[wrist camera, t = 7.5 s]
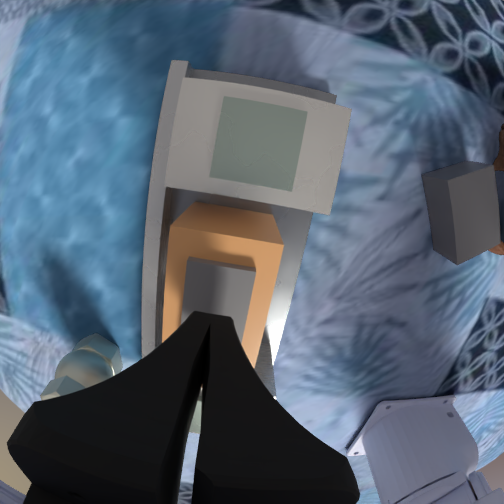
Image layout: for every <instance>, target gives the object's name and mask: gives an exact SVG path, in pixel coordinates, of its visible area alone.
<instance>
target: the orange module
mask: <svg viewBox="0 0 504 504" xmlns="http://www.w3.org/2000/svg"><path fill="white" fill-rule="evenodd" d="M283 248H284V243H283V241H282V238H281V235H280V233H279V230H278V227H277V224H276V222H275V219H274V216H273V215H271V214H265V213H260V212H254V211H249V210H243V209H237V208H231V207H225V206H219V205H213V204H207V203H201V202H194V203H192V204H191V205H190V206H189V207H188V208H187V209H186V210H185V211H184V212H183V213H182V214H181V215H180V216H179V217H178V218H177V219H176V220H175V221H174V222H173V223H172V224H171V225H170V232H169V242H168V253H167V264H166V277H165V291H164V308H163V330H162V343H163V342H164V341H165V340H166V339H167V338H168V337H169V336H170V335H171V334H172V333H173V332H174V331H176V330H177V329H178V327H179V326H180V325H181V324H182V323H183V322H184V321H185V320H186V319H187V318H188V316H189V315H190V314H191V313H192V312H193V311H200V312H205V313H211V314H217V315H223V316H230V317H231V318H232V319H233V321H234V325H235V329H236V332H237V335H238V337H239V340H240V342H241V345H242V347H243V349H244V351H245V353H246V355H247V357H248V359H249V361H250V363H251V365H252V366H253V368H255V364H256V360H257V356H258V352H259V348H260V344H261V340H262V336H263V332H264V328H265V324H266V320H267V316H268V312H269V308H270V304H271V299H272V295H273V291H274V287H275V282H276V278H277V274H278V270H279V265H280V261H281V256H282V252H283Z"/></svg>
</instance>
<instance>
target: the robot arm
mask: <svg viewBox="0 0 504 504" xmlns="http://www.w3.org/2000/svg"><path fill="white" fill-rule="evenodd" d="M201 387H202V404H201V430H200V437H199V444H198V451H197V457H196V464H195V473H194V483H193V493H192V503H191V504H356V503H357V502H358V500H359V497H360V492H359V489H358V485H357V481H356V478H355V476H354V473H353V470H352V468H351V466H350V464H349V462H348V459H347V457H345V456H344V455H342V454H340V453H339V452H337V451H336V450H334V449H333V448H331V447H330V446H328V445H327V444H325V443H324V442H322V441H321V440H319V439H318V438H316V437H315V436H314V435H313V434H311V433H310V432H309V431H308V430H306V429H305V428H304V427H303V426H302V425H300V424H299V423H298V422H297V421H296V420H295V419H294V418H293V417H292V416H291V415H290V414H289V413H288V412H287V411H286V410H285V409H284V408H283V407H282V406H281V405H280V404H279V402H278V401H277V400H276V399H275V398H274V397H273V395H272V394H271V393H270V392H269V390H268V389H267V388H266V386H265V385H264V384H263V382H262V381H261V379H260V378H259V376H258V375H257V373H256V371H255V370H254V368H253V366H252V365H251V363H250V361H249V359H248V357H247V355H246V353H245V351H244V349H243V347H242V345H241V342H240V340H239V337H238V335H237V332H236V329H235V325H234V321H233V319H232V318H231V317H230V316H223V315H217V314H211V313H205V312H200V311H193V312H192V313H191V314H190V315H189V316H188V318H187V319H186V320H185V321H184V322H183V323H182V324H181V325H180V326H179V327H178V329H177V330H176V331H174V332H173V333H172V334H171V335H170V336H169V337H168V338H167V339H166V340H165V341H164V342H163V343H161V344H160V345H159V346H158V347H157V348H155V349H154V350H153V351H152V352H150V353H149V354H148V355H147V356H145V357H144V358H142V359H141V360H139V361H138V362H137V363H135V364H133V365H132V366H130V367H129V368H127V369H125V370H124V371H122V372H120V373H118V374H116V375H114V376H113V377H111V378H109V379H107V380H105V381H102V382H100V383H98V384H95V385H93V386H90V387H88V388H85V389H82V390H79V391H76V392H73V393H70V394H67V395H63V396H59V397H55V398H50V399H46V400H42V401H36V402H34V403H33V404H32V406H31V407H30V408H29V409H28V410H27V412H26V413H25V414H24V416H23V417H22V419H21V421H20V422H19V424H18V426H17V427H16V429H15V430H14V432H13V434H12V435H11V437H10V439H9V440H8V442H7V446H8V450H9V453H10V455H11V456H12V458H13V460H14V461H15V462H16V464H17V465H18V466H19V468H20V469H21V470H22V471H23V473H24V474H25V475H26V476H27V478H28V479H29V480H30V481H31V483H32V484H31V486H30V488H29V490H28V492H27V495H24V494H22V493H20V492H19V491H17V490H15V489H14V488H12V487H10V486H9V485H7V484H5V483H4V482H2V481H1V480H0V504H177V502H178V495H179V487H180V480H181V473H182V467H183V460H184V454H185V447H186V442H187V438H188V433H189V430H190V426H191V423H192V419H193V416H194V412H195V409H196V405H197V401H198V398H199V394H200V391H201ZM455 400H456V397H455V395H449V396H441V397H432V398H422V399H410V400H394V401H382V402H380V403H379V404H378V405H377V407H376V408H375V410H374V411H373V413H372V415H371V416H370V418H369V419H368V421H367V422H366V424H365V425H364V427H363V428H362V430H361V431H360V433H359V434H358V436H357V437H356V439H355V440H354V442H353V443H352V444H351V446H350V447H349V449H348V450H347V451H346V453H347V455H348V456H356V455H366V456H367V460H368V463H369V466H370V469H371V472H372V475H373V478H374V482H375V485H376V488H377V491H378V495H379V498H380V501H381V504H504V493H503V491H502V489H501V488H498V489H496V490H494V491H492V490H491V488H490V486H489V485H488V483H487V481H486V479H485V477H484V475H483V473H482V472H475V470H476V467H477V464H478V447H477V444H476V442H475V440H474V438H473V437H472V435H471V433H470V432H469V430H468V429H467V427H466V425H465V424H464V422H463V421H462V419H461V417H460V416H459V414H458V413H457V411H456V410H455V408H454V406H453V405H452V404H453V403H454V402H455Z"/></svg>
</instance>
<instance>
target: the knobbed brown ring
mask: <svg viewBox="0 0 504 504" xmlns="http://www.w3.org/2000/svg"><path fill="white" fill-rule="evenodd" d="M493 165H494V170H495V171H504V124H503V125H502V126H501V131H500V133H499V153H498V156H497V158H496V159H495V161H494V163H493ZM489 251H491V252H493V253H495V254H499V255H504V242H502V241H501V240H500V244H498V245H496V246H495V247H493V248H491V249H489Z"/></svg>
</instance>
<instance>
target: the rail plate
mask: <svg viewBox="0 0 504 504" xmlns="http://www.w3.org/2000/svg"><path fill="white" fill-rule="evenodd" d="M336 97H337V95H334V94H330V93H327V92H323V91H319V90H315V89H311V88H307V87H303V86H298V85H294V84H290V83H285V82H280V81H275V80H270V79H264V78H259V77H253V76H247V75H240V74H233V73H226V72H218V71H209V70H199V69H194V68H193V67H192V65H191V64H190V63H189V61H180V60H172V61H171V65H170V69H169V74H168V78H167V83H166V87H165V92H164V97H163V102H162V107H161V112H160V118H159V124H158V129H157V135H156V142H155V148H154V155H153V162H152V169H151V177H150V186H149V194H148V204H147V214H146V226H145V239H144V254H143V274H142V358H144V357H145V356H147V355H148V354H149V353H150V352H152V351H153V350H154V349H155V348H157V347H158V346H159V345H160V344H161V343H162V330H163V308H164V291H165V277H166V264H167V253H168V242H169V232H170V225H171V224H172V223H173V222H174V221H175V220H176V219H177V218H178V217H179V216H180V215H181V214H182V213H183V212H184V211H185V210H186V209H187V208H188V207H189V206H190V205H191V204H192V203H194V202H201V203H207V204H213V205H219V206H225V207H231V208H237V209H243V210H249V211H254V212H260V213H265V214H271V215H273V216H274V219H275V222H276V224H277V227H278V230H279V233H280V235H281V238H282V241H283V243H284V248H283V252H282V256H281V261H280V265H279V270H278V274H277V278H276V282H275V287H274V291H273V295H272V299H271V304H270V308H269V312H268V316H267V320H266V324H265V328H264V332H263V336H262V340H261V344H260V348H259V352H258V356H257V360H256V364H255V368H254V370H255V371H256V373H257V375H258V376H259V378H260V379H261V381H262V382H263V384H264V385H265V386H266V388H267V389H268V390H269V392H270V393H271V394H272V395H273V397H274V398H275V399H276V389H275V380H274V371H273V364H274V360H275V357H276V353H277V350H278V346H279V343H280V339H281V336H282V332H283V329H284V325H285V322H286V318H287V314H288V311H289V307H290V303H291V300H292V296H293V292H294V288H295V284H296V281H297V277H298V273H299V269H300V265H301V261H302V257H303V253H304V249H305V245H306V240H307V236H308V232H309V228H310V224H311V219H312V215H313V212H315V213H320V214H325V215H330V212H331V207H332V203H333V199H334V194H335V190H336V185H337V181H338V176H339V172H340V167H341V162H342V157H343V152H344V147H345V142H346V137H347V132H348V127H349V121H350V116H351V110H352V109H350V108H346V107H343V106H339V105H336V104H335V102H336ZM201 404H202V387H201V391H200V394H199V398H198V401H197V405H196V409H195V412H194V416H193V419H192V423H191V426H190V430H189V432H191V433H197V434H200V430H201Z"/></svg>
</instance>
